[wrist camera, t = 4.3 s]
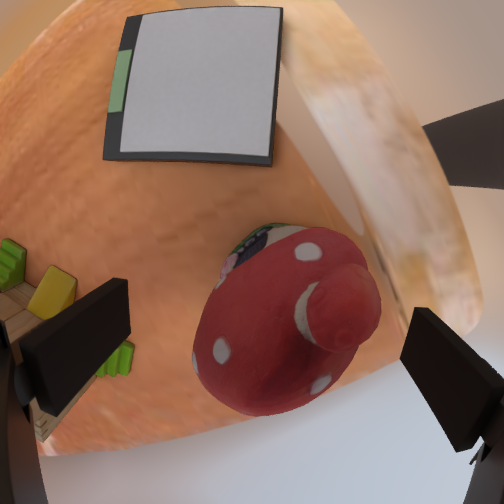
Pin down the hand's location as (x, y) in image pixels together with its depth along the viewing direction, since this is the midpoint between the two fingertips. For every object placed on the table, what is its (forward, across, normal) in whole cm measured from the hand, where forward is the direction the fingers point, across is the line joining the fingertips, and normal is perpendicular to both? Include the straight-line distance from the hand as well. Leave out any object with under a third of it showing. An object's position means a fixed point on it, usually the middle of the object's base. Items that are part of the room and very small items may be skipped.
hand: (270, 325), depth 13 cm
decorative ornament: (+10, 0, 0) cm, 10 cm away
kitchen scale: (+10, -7, +13) cm, 18 cm away
